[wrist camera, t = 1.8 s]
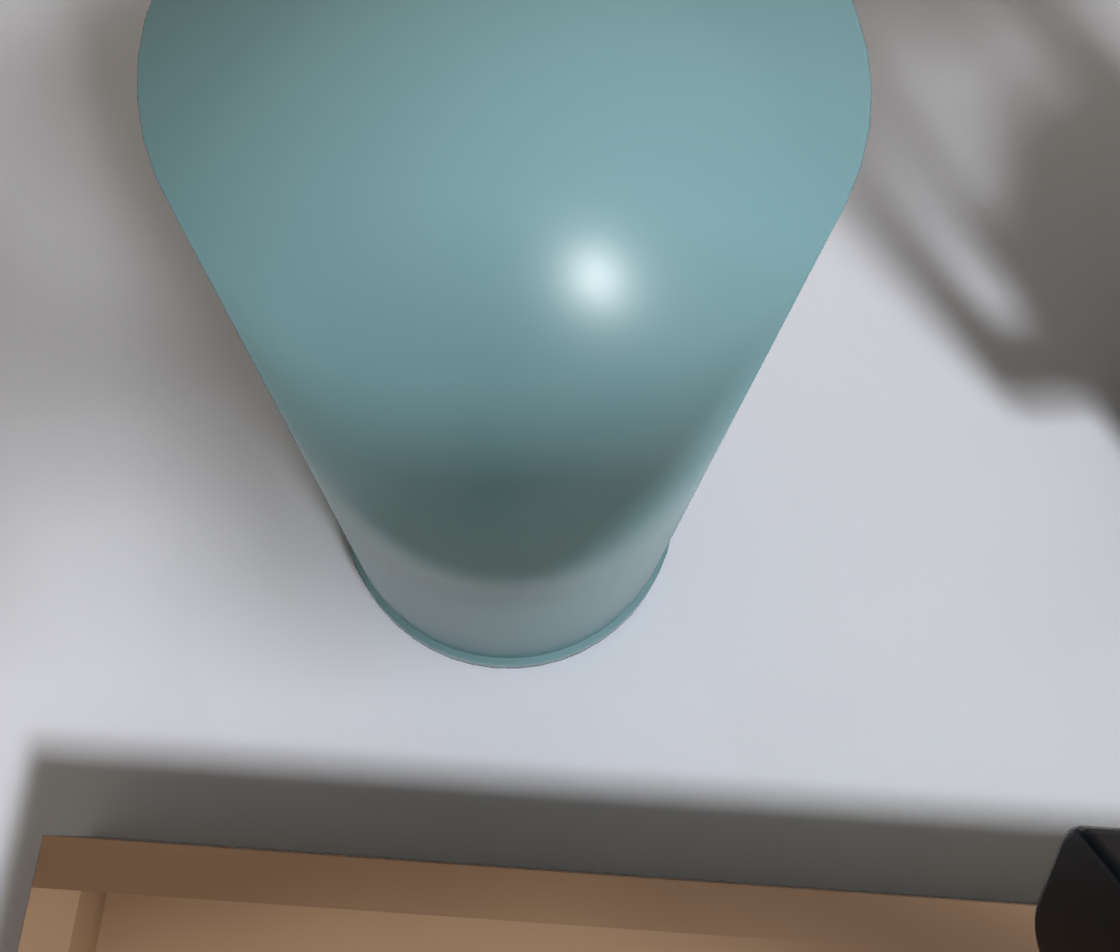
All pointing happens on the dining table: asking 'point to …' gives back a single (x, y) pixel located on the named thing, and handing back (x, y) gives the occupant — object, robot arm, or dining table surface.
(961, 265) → the dining table surface
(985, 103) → the dining table surface
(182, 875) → the tray
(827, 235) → the tumbler
